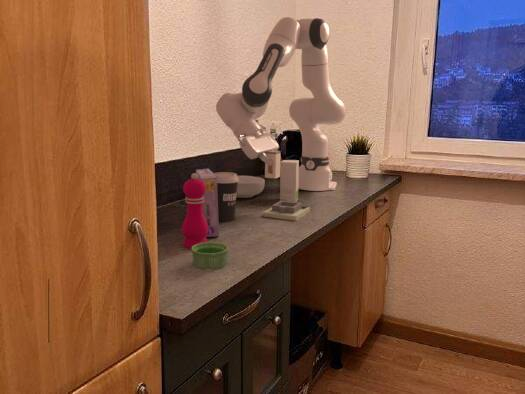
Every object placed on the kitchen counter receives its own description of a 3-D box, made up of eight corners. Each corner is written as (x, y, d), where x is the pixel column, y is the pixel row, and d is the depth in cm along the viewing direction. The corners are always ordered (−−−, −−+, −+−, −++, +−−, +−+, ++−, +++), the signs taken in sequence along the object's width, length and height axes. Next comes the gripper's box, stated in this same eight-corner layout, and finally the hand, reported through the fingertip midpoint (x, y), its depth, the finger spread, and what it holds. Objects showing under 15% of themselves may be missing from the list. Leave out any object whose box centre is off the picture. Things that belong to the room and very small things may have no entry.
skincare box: (295, 203, 185) (297, 162, 181) (278, 202, 186) (279, 162, 182) (298, 198, 193) (299, 159, 189) (282, 197, 194) (283, 159, 191)
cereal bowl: (246, 202, 184) (246, 184, 183) (214, 196, 194) (214, 179, 193) (272, 195, 198) (273, 178, 196) (241, 190, 207) (241, 173, 206)
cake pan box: (195, 221, 157) (195, 167, 153) (211, 220, 158) (211, 167, 154) (202, 239, 139) (201, 178, 135) (219, 238, 140) (219, 177, 136)
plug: (269, 175, 172) (270, 150, 170) (279, 176, 170) (280, 151, 168) (264, 177, 168) (265, 151, 166) (275, 178, 167) (276, 152, 165)
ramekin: (218, 273, 113) (218, 255, 112) (184, 267, 117) (184, 250, 116) (234, 261, 122) (234, 244, 121) (202, 256, 125) (202, 240, 124)
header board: (278, 207, 177) (278, 198, 176) (309, 211, 172) (310, 201, 172) (263, 216, 165) (263, 206, 164) (296, 220, 160) (296, 210, 159)
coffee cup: (216, 224, 154) (216, 177, 151) (205, 217, 163) (205, 172, 159) (243, 220, 159) (244, 175, 155) (231, 214, 167) (231, 171, 164)
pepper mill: (182, 241, 136) (181, 170, 132) (208, 241, 137) (208, 171, 133) (180, 249, 129) (179, 175, 125) (208, 249, 130) (207, 175, 126)
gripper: (241, 129, 159) (268, 161, 157) (267, 125, 177) (291, 154, 175) (229, 142, 162) (255, 173, 160) (255, 137, 180) (279, 165, 178)
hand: (274, 163), depth 168 cm, fingers closed on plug, 4 cm apart
